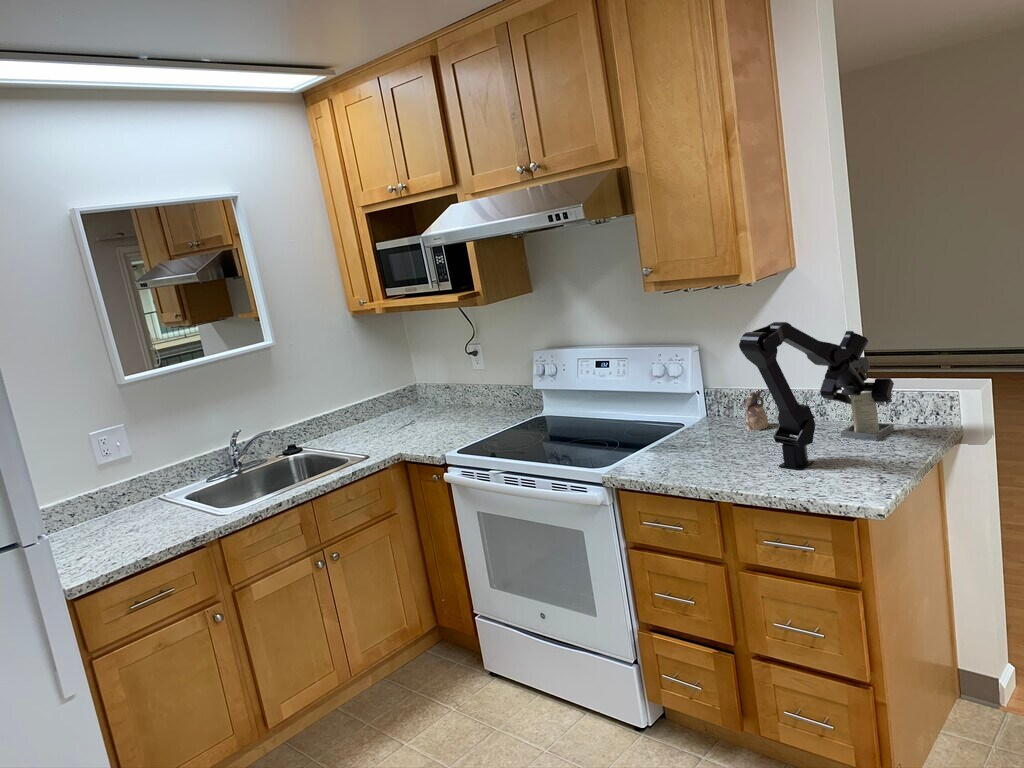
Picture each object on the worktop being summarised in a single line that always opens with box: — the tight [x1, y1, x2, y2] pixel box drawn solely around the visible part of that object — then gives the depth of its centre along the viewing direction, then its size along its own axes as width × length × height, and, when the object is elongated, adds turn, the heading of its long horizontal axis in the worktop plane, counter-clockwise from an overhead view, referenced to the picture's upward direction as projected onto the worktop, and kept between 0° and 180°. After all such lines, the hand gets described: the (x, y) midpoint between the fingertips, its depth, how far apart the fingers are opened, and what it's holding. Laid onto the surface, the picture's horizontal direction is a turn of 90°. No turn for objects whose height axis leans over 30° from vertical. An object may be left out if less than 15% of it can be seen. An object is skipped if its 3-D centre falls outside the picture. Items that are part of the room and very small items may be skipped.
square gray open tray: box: [840, 422, 895, 441], centre depth 217 cm, size 10×10×2 cm
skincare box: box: [849, 391, 879, 433], centre depth 216 cm, size 6×4×12 cm
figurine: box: [743, 390, 769, 432], centre depth 241 cm, size 7×7×12 cm
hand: (867, 403), depth 217 cm, fingers open, 9 cm apart
